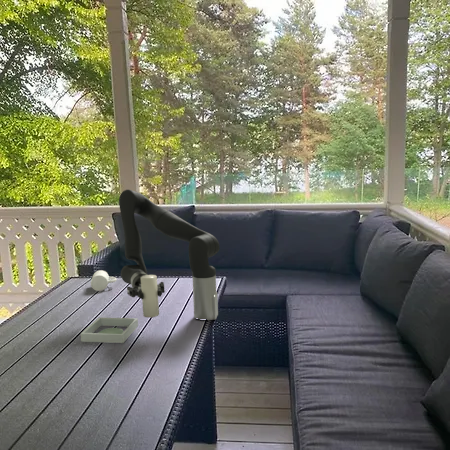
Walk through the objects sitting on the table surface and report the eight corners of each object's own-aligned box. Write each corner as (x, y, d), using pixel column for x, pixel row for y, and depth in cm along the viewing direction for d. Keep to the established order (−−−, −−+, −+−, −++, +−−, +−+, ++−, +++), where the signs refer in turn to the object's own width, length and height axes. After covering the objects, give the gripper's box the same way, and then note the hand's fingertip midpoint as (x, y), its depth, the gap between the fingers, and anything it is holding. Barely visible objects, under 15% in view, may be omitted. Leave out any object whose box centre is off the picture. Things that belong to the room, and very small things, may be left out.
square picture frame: (138, 325, 170) (137, 318, 169) (123, 343, 155) (122, 335, 154) (99, 324, 172) (99, 317, 172) (81, 341, 157) (80, 333, 156)
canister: (161, 312, 161) (158, 274, 159) (156, 317, 155) (153, 279, 153) (146, 311, 162) (143, 274, 159) (141, 317, 156) (138, 279, 154)
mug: (91, 291, 215) (90, 276, 214) (93, 286, 224) (92, 270, 223) (116, 289, 217) (115, 274, 216) (117, 284, 227) (116, 269, 225)
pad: (126, 329, 167) (126, 328, 167) (117, 338, 158) (117, 337, 158) (104, 328, 168) (104, 327, 168) (94, 338, 160) (94, 337, 159)
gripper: (122, 276, 167) (130, 287, 152) (159, 271, 172) (170, 281, 157) (123, 295, 168) (131, 308, 153) (160, 289, 174) (171, 302, 158)
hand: (151, 295), depth 155 cm, fingers closed on canister, 5 cm apart
